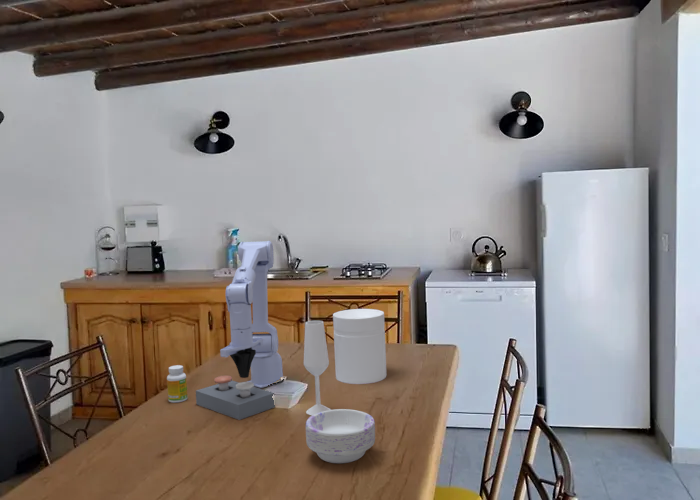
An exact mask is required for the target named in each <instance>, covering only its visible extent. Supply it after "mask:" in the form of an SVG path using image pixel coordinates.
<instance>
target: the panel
mask: <svg viewBox="0 0 700 500" xmlns="http://www.w3.org/2000/svg"><path fill="white" fill-rule="evenodd" d="M228 383H229V390H225V391H219V385H218V383H216V384H213V385H210V386H206V387H203V388H200V389H197V390H195V400H196V401H195V402H196V403H195V404H196V405H197V406H200V407H201V408H204V409H208V410H211V411H212V412H213V411H214V412H216V413H219V414H220V415H225V416H227V417H231V418H232V419H235V420H238V421H240V420H243V419H246V418H248V417H251V416H254V415H255V416H256V415H257V414H259V413H263V412H265V411H268V410H271V409H274V408H275V407H276V404H275V405H274V400H273V398H272V396H273V394H274V395H275V392H272V391H270V392H269V390H266V391H265V389H264V388H259V387H256V386H254V387H253V388H251V389H250V393H251V396H250V397H247V398H240V390H237V389H236V384H238V383H240V382H238V381H235V380H232V381H230V382H228Z"/></svg>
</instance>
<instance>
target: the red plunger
mask: <svg viewBox="0 0 700 500" xmlns="http://www.w3.org/2000/svg"><path fill="white" fill-rule="evenodd" d="M213 380H214V383H216V384H218V385H219V391H225V390H229V383H228V382H230V381H233V377H232V376H231V375H219V376H217V377H214V379H213Z"/></svg>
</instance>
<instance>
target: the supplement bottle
mask: <svg viewBox="0 0 700 500" xmlns="http://www.w3.org/2000/svg"><path fill="white" fill-rule="evenodd" d="M168 373H169V374H168V375H167V376H166V384H167V385H166V387H167V396H168V397H167V398H168V402H170V403H176V404H177V403H181V402H184V401H186V400H188V384H187V383H188V381H187V375H186V373H185V372H184V366H183V365H180V364H177V365H171V366H169V367H168Z"/></svg>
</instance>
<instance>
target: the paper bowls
mask: <svg viewBox="0 0 700 500" xmlns="http://www.w3.org/2000/svg"><path fill="white" fill-rule="evenodd" d="M375 424H376V423H375V418H374V417H373V416H372V415H370V414H369V413H367V412H365V411H361V410H356V409H349V408H346V409H345V408H337V409H334V408H333V409H331V410H327V411H323V412H319V413H316V414H314V415H310V416H309V417H308V418H307V420H306V421H305V438H306V440H305V442H306V445H307V447H308V448H309V449H310V450H311V451H312V452H314V453H316V454H317V456H318V458H320V459H321V460H322V461H325V462H327V463H331V464H348V463H352V462H355V461H358V460H359V459H360V458H362V457H363V456H364V455H365V454H366V451H368V450H369V449H370V448H372V447H373V445H374V444H375V441H376V425H375Z"/></svg>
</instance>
